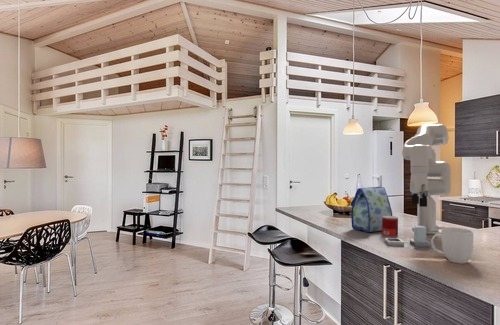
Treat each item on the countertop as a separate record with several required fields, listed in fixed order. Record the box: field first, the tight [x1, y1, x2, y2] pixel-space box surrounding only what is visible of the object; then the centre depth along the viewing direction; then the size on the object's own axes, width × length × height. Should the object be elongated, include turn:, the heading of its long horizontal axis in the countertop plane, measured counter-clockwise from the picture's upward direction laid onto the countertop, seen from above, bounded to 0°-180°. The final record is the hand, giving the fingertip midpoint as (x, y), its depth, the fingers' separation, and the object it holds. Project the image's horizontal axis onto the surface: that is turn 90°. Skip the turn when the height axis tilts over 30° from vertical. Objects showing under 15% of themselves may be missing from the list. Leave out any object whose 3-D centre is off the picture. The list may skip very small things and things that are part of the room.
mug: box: [430, 226, 474, 264], centre depth 127 cm, size 15×11×13 cm
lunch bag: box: [350, 186, 393, 233], centre depth 184 cm, size 22×17×26 cm
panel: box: [379, 237, 435, 251], centre depth 147 cm, size 22×14×3 cm, turn 81°
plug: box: [411, 225, 427, 243], centre depth 146 cm, size 5×4×9 cm
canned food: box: [381, 215, 399, 237], centre depth 167 cm, size 8×8×11 cm
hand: (419, 205), depth 146 cm, fingers open, 9 cm apart
